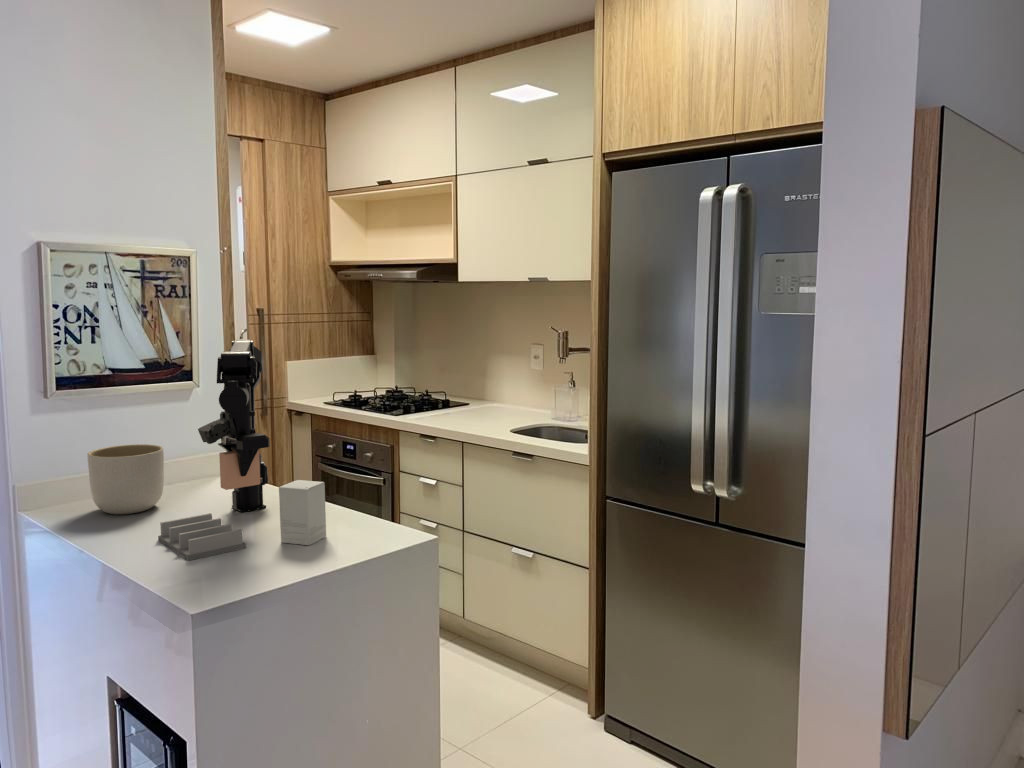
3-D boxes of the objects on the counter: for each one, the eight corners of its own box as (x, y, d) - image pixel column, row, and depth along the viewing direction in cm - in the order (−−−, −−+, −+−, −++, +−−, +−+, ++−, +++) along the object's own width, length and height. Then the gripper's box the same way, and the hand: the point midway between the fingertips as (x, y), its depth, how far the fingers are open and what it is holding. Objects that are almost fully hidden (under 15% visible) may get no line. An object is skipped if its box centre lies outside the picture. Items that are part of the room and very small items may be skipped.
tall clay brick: (254, 482, 177) (253, 448, 176) (260, 484, 175) (259, 449, 174) (220, 487, 172) (219, 452, 171) (226, 489, 169) (224, 454, 169)
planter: (171, 512, 190) (168, 452, 188) (94, 523, 180) (91, 460, 179) (159, 497, 204) (157, 441, 202) (87, 506, 194) (84, 448, 193)
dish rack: (212, 529, 176) (211, 512, 175) (245, 547, 163) (244, 529, 162) (158, 540, 168) (157, 522, 167) (188, 560, 154) (187, 541, 154)
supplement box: (327, 536, 171) (326, 481, 169) (308, 546, 164) (306, 489, 162) (299, 533, 173) (297, 478, 172) (279, 542, 166) (277, 486, 165)
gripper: (185, 406, 173) (188, 473, 174) (219, 414, 159) (222, 487, 161) (233, 402, 180) (235, 466, 182) (269, 409, 167) (271, 479, 168)
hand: (240, 474), depth 173 cm, fingers closed on tall clay brick, 3 cm apart
